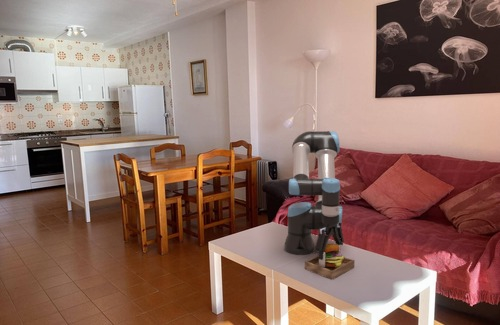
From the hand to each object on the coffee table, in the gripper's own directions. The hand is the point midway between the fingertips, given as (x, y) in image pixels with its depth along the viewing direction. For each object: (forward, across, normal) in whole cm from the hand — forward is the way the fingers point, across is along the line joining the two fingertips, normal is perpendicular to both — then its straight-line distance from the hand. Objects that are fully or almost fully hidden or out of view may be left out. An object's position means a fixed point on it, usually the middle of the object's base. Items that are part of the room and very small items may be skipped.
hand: (329, 262), depth 169 cm
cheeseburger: (+1, 0, -1) cm, 1 cm away
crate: (+3, 0, 0) cm, 3 cm away
